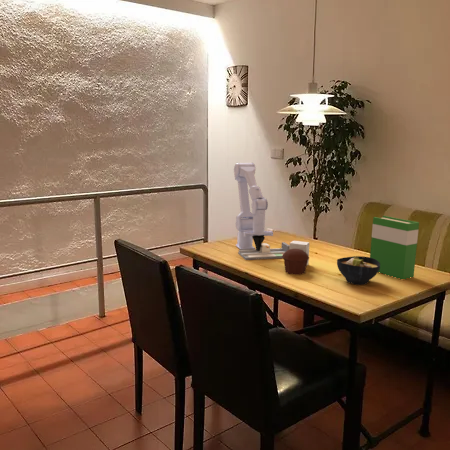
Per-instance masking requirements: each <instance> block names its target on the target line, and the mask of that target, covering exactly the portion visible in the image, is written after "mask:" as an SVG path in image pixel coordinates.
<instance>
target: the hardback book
mask: <svg viewBox="0 0 450 450" xmlns="http://www.w3.org/2000/svg"><path fill="white" fill-rule="evenodd" d="M371 227H372V230H371V239H370V250H369V251H370V253H369V254H370V255H369V257H370V258H373V259H376V260H377V261H379V263H380V269H379V271H378V272H380V273H379V274H381V273H383V274H382V275H385V274H386V275H385V276H388V275H389V277H391V276H393V277H392V278H394V277H396V278H395V279H398V278H400V279H399V280H401V279H405V280H407V279H406V278H409V279H411V278H410V277H413V278H414V277H415V265H416V257H417V247H418V237H419V228H420V222H419V221H414V220H409V219H403V218H397V217H392V216H387V215H382V217H378V216H377V217H376V216H373V218H372V226H371Z"/></svg>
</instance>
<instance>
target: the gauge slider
mask: <svg viewBox="0 0 450 450" xmlns="http://www.w3.org/2000/svg"><path fill="white" fill-rule="evenodd" d="M270 249H271V245H270V244H269V243H264V242H262V245H261V247H260V251H259V252H260V253H264V252H270Z"/></svg>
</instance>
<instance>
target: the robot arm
mask: <svg viewBox="0 0 450 450" xmlns="http://www.w3.org/2000/svg"><path fill="white" fill-rule="evenodd" d="M233 167H234V168H233V173H234V180H236V181H237V187H238V196H239V197H238V198H239V207H240V209H239V210H240V212H239V214H237V215H236V217H235V228H236V230H237V238H236V239H237V243H236V244H235V246H236V248H238V249H239V250H250V249H256V250H257V251H260V247H261V245H262V243H264V241H265V239H266V237H267V236H269V237H274V232H273V231H271V230H265V226H266V225H265V224H266V211H267V210H268V206H269V205H268V204H269V203H268V200H267V198H266V197H265V196H264V195H263V192H262V190H261V187H260V186H259V185H257V182H256V176H255V174H256V169H257V168H256V165H255V163H254V162H236V163H235V164H234V166H233ZM250 199H251V205H250ZM251 208H252V209H251ZM251 211H252V212H251ZM253 242H254V245H255V247H254V246H253Z"/></svg>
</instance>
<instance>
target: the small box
mask: <svg viewBox="0 0 450 450" xmlns="http://www.w3.org/2000/svg"><path fill="white" fill-rule="evenodd" d="M289 245H290V247H289V249H301V250H303V251H304V252H306V253H307V254H308V256H309V257H310V242H309V241H300V240H292V241H291V242H289ZM309 259H310V258H309ZM309 259H308V261H307V266H309V264H310V263H309Z"/></svg>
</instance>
